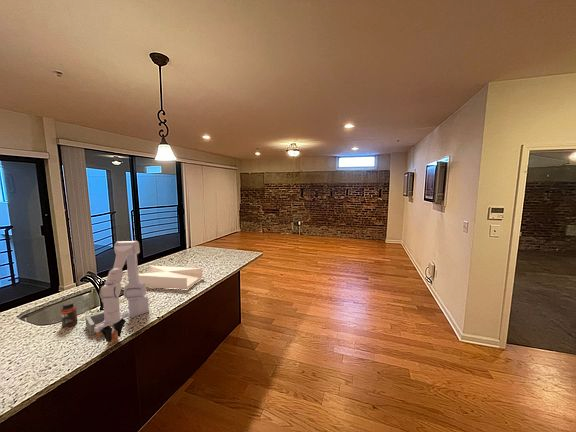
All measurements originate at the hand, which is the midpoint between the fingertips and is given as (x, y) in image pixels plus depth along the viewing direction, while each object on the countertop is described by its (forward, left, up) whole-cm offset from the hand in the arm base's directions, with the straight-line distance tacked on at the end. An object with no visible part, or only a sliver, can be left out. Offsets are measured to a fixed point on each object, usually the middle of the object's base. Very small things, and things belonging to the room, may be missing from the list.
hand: (113, 338), depth 112 cm
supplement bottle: (+11, -34, -2) cm, 36 cm away
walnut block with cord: (+1, -7, -2) cm, 7 cm away
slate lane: (0, -19, -2) cm, 19 cm away
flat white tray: (-47, -56, -2) cm, 74 cm away
